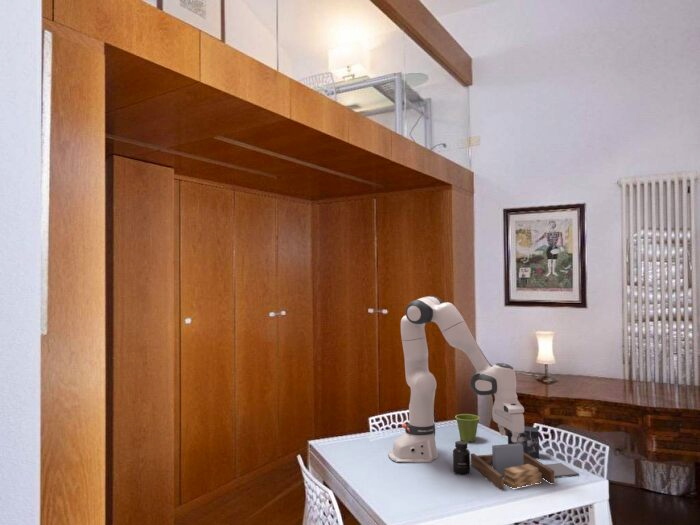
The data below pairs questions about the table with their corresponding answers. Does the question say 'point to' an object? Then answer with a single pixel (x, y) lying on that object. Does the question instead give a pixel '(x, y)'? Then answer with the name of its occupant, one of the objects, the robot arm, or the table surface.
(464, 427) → the plant pot
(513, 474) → the offcut stack
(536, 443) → the small box
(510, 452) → the gray block
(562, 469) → the charcoal mat
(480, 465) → the walnut rack
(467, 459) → the supplement bottle
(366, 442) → the table surface
